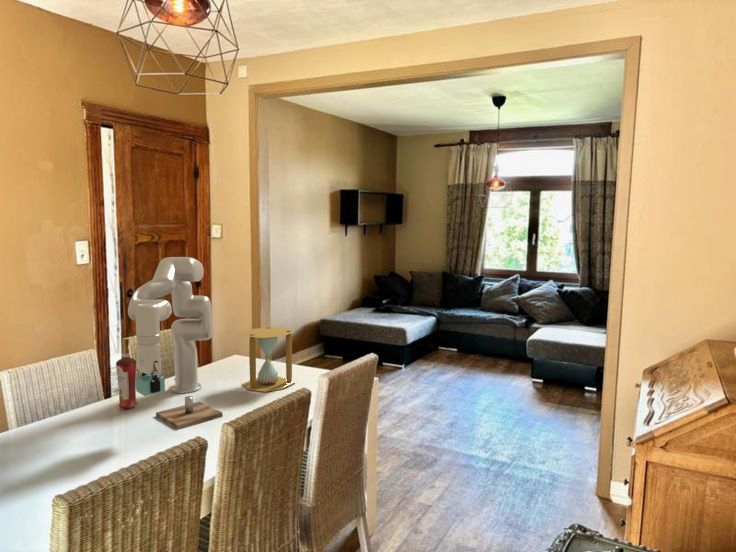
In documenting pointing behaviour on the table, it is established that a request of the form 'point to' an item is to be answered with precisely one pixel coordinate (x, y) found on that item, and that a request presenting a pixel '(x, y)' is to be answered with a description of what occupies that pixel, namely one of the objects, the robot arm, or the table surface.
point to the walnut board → (188, 415)
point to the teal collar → (148, 385)
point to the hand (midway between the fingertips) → (150, 389)
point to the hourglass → (268, 359)
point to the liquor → (126, 378)
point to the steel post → (189, 404)
